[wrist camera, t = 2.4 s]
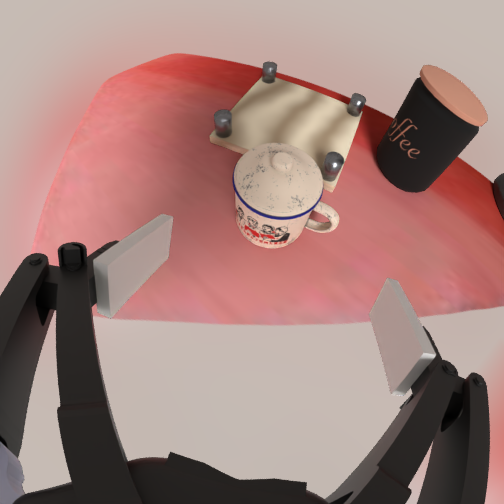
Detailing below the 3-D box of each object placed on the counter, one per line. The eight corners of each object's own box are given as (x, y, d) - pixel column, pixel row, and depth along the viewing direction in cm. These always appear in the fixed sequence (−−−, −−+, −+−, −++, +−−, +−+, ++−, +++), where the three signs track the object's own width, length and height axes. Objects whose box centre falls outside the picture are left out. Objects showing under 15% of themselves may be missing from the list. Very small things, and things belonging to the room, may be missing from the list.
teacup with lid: (220, 231, 34) (212, 175, 23) (254, 176, 37) (259, 113, 26) (310, 275, 33) (344, 235, 22) (335, 214, 36) (369, 161, 25)
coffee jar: (371, 136, 41) (412, 54, 24) (422, 154, 41) (471, 85, 24) (376, 186, 38) (435, 99, 21) (431, 203, 37) (498, 135, 21)
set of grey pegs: (360, 111, 41) (367, 97, 38) (333, 184, 35) (341, 169, 32) (265, 75, 44) (266, 60, 40) (212, 134, 38) (210, 117, 34)
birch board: (360, 117, 43) (362, 111, 42) (331, 192, 37) (335, 186, 35) (263, 80, 45) (264, 74, 44) (210, 142, 39) (209, 135, 37)
